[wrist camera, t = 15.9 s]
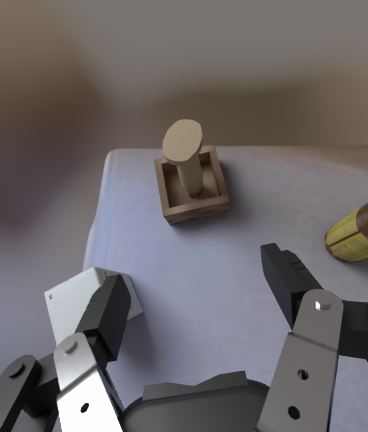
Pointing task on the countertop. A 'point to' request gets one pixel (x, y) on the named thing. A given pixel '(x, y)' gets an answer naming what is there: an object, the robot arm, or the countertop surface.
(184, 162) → the handle
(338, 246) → the sauce bottle
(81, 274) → the supplement box
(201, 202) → the open wooden box
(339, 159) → the countertop surface
